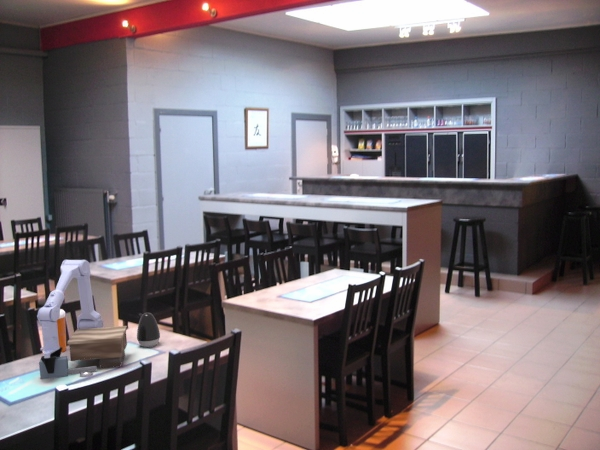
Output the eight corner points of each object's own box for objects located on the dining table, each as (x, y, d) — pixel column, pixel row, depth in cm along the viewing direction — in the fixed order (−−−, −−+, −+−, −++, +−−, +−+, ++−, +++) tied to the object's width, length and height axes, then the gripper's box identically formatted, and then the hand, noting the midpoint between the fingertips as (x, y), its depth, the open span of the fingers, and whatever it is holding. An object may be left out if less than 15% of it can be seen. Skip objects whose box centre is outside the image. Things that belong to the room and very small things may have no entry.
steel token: (79, 374, 249) (79, 370, 249) (92, 372, 251) (92, 368, 251) (79, 378, 245) (79, 375, 245) (93, 376, 247) (93, 372, 246)
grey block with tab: (42, 375, 249) (40, 358, 248) (97, 369, 254) (95, 352, 253) (40, 379, 245) (39, 362, 244) (96, 372, 250) (95, 355, 249)
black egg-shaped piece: (150, 340, 289) (147, 308, 287) (165, 344, 283) (163, 311, 281) (132, 346, 281) (130, 313, 279) (147, 350, 275) (145, 317, 273)
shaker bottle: (48, 355, 273) (44, 311, 270) (46, 350, 281) (42, 306, 278) (69, 351, 277) (66, 308, 274) (67, 346, 285) (63, 303, 282)
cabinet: (78, 358, 268) (76, 329, 267) (128, 354, 271) (126, 325, 269) (70, 372, 251) (67, 341, 250) (123, 367, 254) (121, 337, 253)
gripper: (44, 332, 252) (47, 364, 254) (34, 343, 238) (37, 377, 240) (62, 330, 253) (65, 362, 255) (53, 341, 239) (56, 375, 241)
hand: (53, 369), depth 247 cm, fingers open, 7 cm apart
